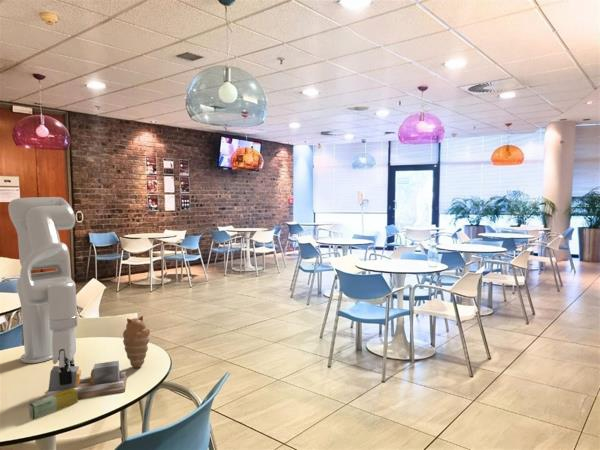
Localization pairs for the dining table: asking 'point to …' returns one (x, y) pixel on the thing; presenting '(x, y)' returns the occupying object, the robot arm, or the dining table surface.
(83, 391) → the rail mount
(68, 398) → the medication box
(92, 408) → the dining table surface
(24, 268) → the robot arm
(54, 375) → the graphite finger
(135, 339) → the cat ice cream
